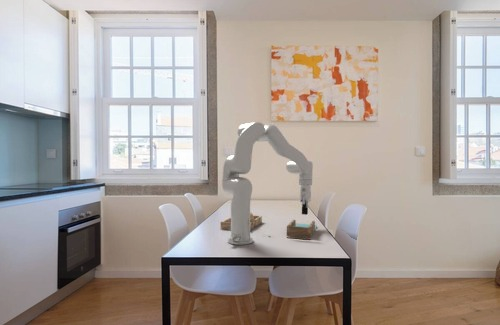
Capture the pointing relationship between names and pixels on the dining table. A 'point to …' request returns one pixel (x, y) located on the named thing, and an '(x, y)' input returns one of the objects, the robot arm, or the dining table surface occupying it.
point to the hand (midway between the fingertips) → (304, 214)
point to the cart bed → (300, 230)
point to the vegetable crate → (257, 220)
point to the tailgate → (304, 225)
